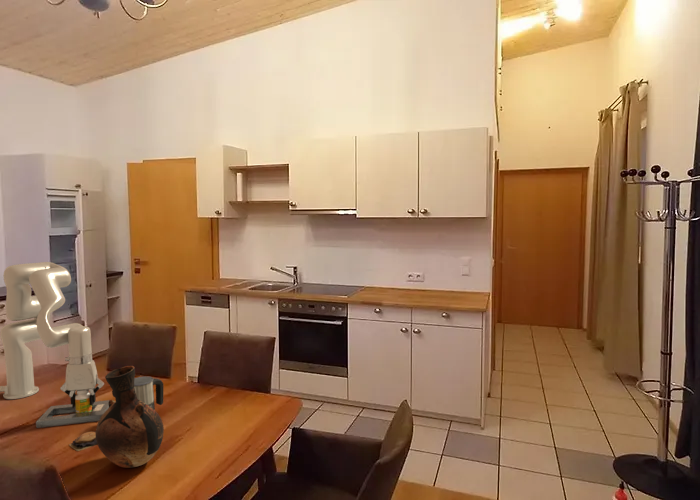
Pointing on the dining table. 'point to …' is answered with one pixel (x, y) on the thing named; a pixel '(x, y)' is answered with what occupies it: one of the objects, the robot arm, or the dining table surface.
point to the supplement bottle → (83, 401)
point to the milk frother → (148, 390)
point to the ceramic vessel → (128, 423)
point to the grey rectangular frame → (71, 415)
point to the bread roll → (84, 441)
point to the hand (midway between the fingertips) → (83, 404)
